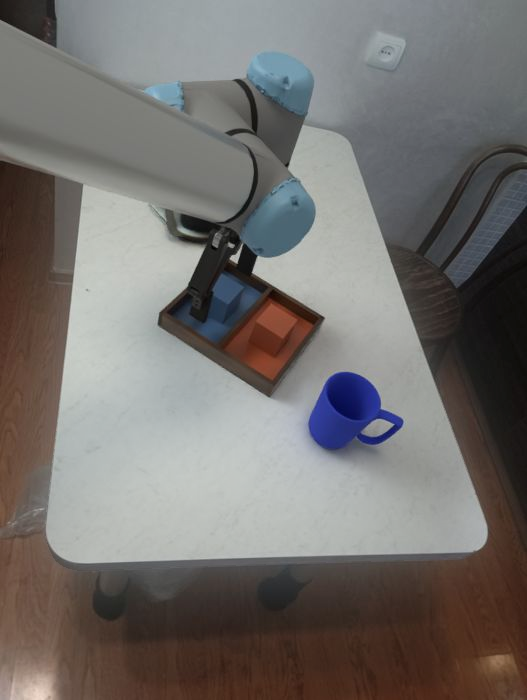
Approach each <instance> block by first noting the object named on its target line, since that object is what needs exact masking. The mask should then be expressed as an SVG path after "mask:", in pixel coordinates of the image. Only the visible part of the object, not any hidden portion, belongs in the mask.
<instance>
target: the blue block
mask: <svg viewBox="0 0 527 700" xmlns="http://www.w3.org/2000/svg"><path fill="white" fill-rule="evenodd" d="M243 290H244V287H243V286H242V285H240V284H238V283H237V282H235V281H233V280H232V279H230V278H228V277H227V276H225V275H223V274H222V273H221V275H220V277H219V279H218V280H217V282H216V284H215V286H214V287H213V289H212V291H213V292H214V294H213V298H212V301H211V305H210V309H209V313H208V316H209V317H211V318H212V319H214V320H215V321H217V322H219V323H220V324H223V323H224V322H225V321H226V320H227V319H228V318H229V317H230V316H231V314H232V313H233V312H234V311H235V310H236V309H237V308H238V305H239V302H240V299H241V296H242V293H243Z"/></svg>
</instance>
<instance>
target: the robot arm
mask: <svg viewBox="0 0 527 700" xmlns="http://www.w3.org/2000/svg"><path fill="white" fill-rule="evenodd" d="M314 87H315V78H314V75H313V73H312V71H311V70H310V68H309V67H308V66H307V65H305V63H304V62H303V61H301V60H300V59H298V58H296V57H293V56H292V55H289V54H287V53H284V52H280V51H273V50H272V51H271V50H269V51H267V50H266V51H262V52H260V53H259V54H256V55H254V56H253V57H252V58H251V60H250V63H249V67H248V68H247V69H246V77H243V78H242V77H241V78H234V79H222V80H196V81H195V80H194V81H181V80H177V81H175V82H170V83H162V84H155V85H150V86H148V87H147V88H145V89H144V91H142V90H140V89H138V88H136V87H134V86H132V85H130V84H128V83H126V82H124V81H122V80H120V79H119V78H116V77H114V76H112V75H111V74H108V73H106V72H105V71H102V70H100V69H99V68H97V67H94V66H93V65H91V64H88V63H87V62H85V61H82V60H81V59H79V58H77V57H75V56H73V55H71V54H68V53H67V52H65V51H63V50H61V49H59V48H56V47H55V46H53V45H51V44H49V43H47V42H45V41H43V40H41V39H39V38H37V37H35V36H34V35H31V34H29V33H27V32H26V31H23V30H21V29H19V28H17V27H16V26H13V25H12V24H9V23H7V22H5V21H3V20H1V19H0V161H2V162H6V163H8V164H9V163H10V164H13V165H17V166H20V167H23V168H27V169H29V170H34V171H36V172H40V173H43V174H46V175H49V176H50V175H51V176H54V177H57V178H61V179H64V180H67V181H71V182H73V183H77V184H81V185H84V186H88V187H91V188H94V189H98V190H101V191H104V192H107V193H112V194H115V195H119V196H121V197H126V198H128V199H132V200H135V201H139V202H141V203H146V204H149V205H151V204H152V205H156V206H159V207H162V208H166V209H169V210H173V211H176V212H179V213H183V214H186V215H190V216H193V217H196V218H200V219H203V220H207V221H210V222H213V223H216V224H218V225H221V228H220V230H219V232H218V231H217V230H215V229H212V230H211V231H210V234H209V237H208V240H207V242H206V244H205V246H204V248H203V250H202V253H201V255H200V257H199V259H198V262H197V264H196V267H195V269H194V271H193V273H192V275H191V277H190V280H189V281H188V283H187V287H185V289H186V292H187V293H189V294H190V295H192V296H193V299H192V303H191V308H190V312H189V315H191V316H192V317H194V318H195V319H197V320H199V321H200V322H202V323H203V324H204V323H205V322H206V321H207V317H208V313H209V309H210V305H211V301H212V298H213V294H214V292H213V291H212V289H213V287H214V286H215V284H216V282H217V280H218V279H219V277H220V275H221V273H222V272H223V270H224V268H225V266H226V264H227V263H228V261H229V259H230V260H231V257H232V256H236V255H237V254H238V253H239V250H240V249H241V250H240V254H239V256H238V259H237V262H236V263H237V266H236V269H237V270H238V271H240V272H242V273H243V274H245V275H247V276H248V277H250V276H251V274H252V273H253V271H254V268H255V265H256V262H257V260H258V257H260V258H264V259H265V258H266V259H271V258H277V257H280V256H283V255H284V254H287V253H288V252H290V251H291V250H293V249H294V248H296V247H297V246H298V245H299V244H300V243H301V242H302V240H303V239H304V238H305V236H307V235H308V234H309V232H310V231H311V229H312V227H313V225H314V223H315V220H316V213H317V210H316V205H315V201H314V199H313V198H312V197H311V195H310V194H309V192H308V191H307V190H306V188H305V187H304V186H303V184H302V182H301V180H300V179H299V178H298V177H296V176H295V175H294V174H293V173H292V172H291V171H290V170H289V167H290V162H291V160H292V157H293V154H294V150H295V148H296V145H297V142H298V139H299V137H300V134H301V131H302V128H303V125H304V122H305V120H306V117H307V116H308V115H309V108H310V103H311V100H312V97H313V96H312V95H313V92H314ZM152 205H151V206H152ZM230 244H231V245H233V247H231V246H230Z"/></svg>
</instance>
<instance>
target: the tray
mask: <svg viewBox="0 0 527 700" xmlns="http://www.w3.org/2000/svg"><path fill="white" fill-rule="evenodd" d="M237 263H238V262H235V261H234V260H232V259H231V258H230V259H229V261H228V263H227V264H226V266H225V268H224V270H223V272H222V274H223V275H225V276H227V277H228V278H230V279H232V280H233V281H235V282H237V283H238V284H240V285H242V286H243V287H244V290H243V293H242V296H241V299H240V302H239V305H238V308H237V309H236V310H235V311H234V312H233V313H232V314H231V316H230V317H229V318H228V319H227V320H226V321H225V322H224V323H223V324H220V323H219V322H217V321H215V320H214V319H212V318H211V317H209V316H208V317H207V321H206V322H205V323H204V324H203V323H202V322H200V321H199V320H197V319H195V318H194V317H192V316H191V315H189V312H190V308H191V303H192V299H193V296H192V295H190V294H189V293H187V292H186V288H184V289H183V290H182V291H181V292H180V293H179V294H178V295H176V296H175V297H174V299H172V300H171V301H170V302H169V303H168V304H167V305H166V306H165V307H164V308H163V309H161V310H160V311H159V312H158V317H157V326H158V327H159V328H161V329H163V330H165V332H168V333H169V334H170V335H173V336H174V337H175V338H177V339H178V340H180V341H182V343H185V344H186V345H187V346H189V347H191V348H193V350H196V351H197V352H198V353H200V354H202V355H203V356H205V357H206V358H207V359H210V360H211V362H214V363H216V364H217V365H218V366H220V367H222V368H223V369H225V370H226V371H228V372H229V373H231V374H233V376H236V377H237V378H239V379H240V380H241V381H243V382H245V383H246V384H248V385H250V386H251V387H252V388H254V389H256V390H257V391H258V392H260V393H262V394H264V395H265V396H266V397H268V398H270V397H271V396H272V394H273V393H274V392H275V391H276V389H277V388H278V387H279V385H280V384H281V383H282V381H283V379H284V378H285V377H286V375H287V374H288V373H289V371H290V370H291V369H292V367H293V366H294V364H295V363H296V362H297V361H298V359H299V358H300V356H301V355H302V353H303V352H304V351H305V349H306V348H307V346H308V345H309V344H310V342H311V341H312V340H313V339H314V337H315V336H316V334H317V333H318V331H319V330H320V329H321V327H322V325H323V323H324V321H325V319H326V317H325V316H324V315H322V314H320V313H319V312H317V311H315V310H313V309H312V308H310V307H309V306H307V305H305V304H304V303H302V302H301V301H299V300H297V299H296V298H294V297H292V296H291V295H289V294H287V293H286V292H284V291H283V290H282V289H279V288H277V287H276V286H274V285H273V284H271V283H270V282H267V281H266V280H265V279H263V278H261V277H260V276H258V275H256V274H255V273H253V272H252V274H251V276H250V277H248V276H247V275H245V274H243V273H242V272H240V271H238V270H237V269H236V266H237ZM271 304H273V305H274V306H276V307H278V308H279V309H281V310H283V311H284V312H286V313H287V314H289V315H291V316H292V317H294V318H295V319H297V320H298V321H297V323H296V325H295V327H294V329H293V331H292V334H291V336H290V338H289V340H288V341H287V342H286V344H285V345H284V346H283V347H282V349H281V350H280V351H279V353H278V354H277V355H276V356H275V358H274V357H273V356H271V355H269V354H268V353H266V352H265V351H263V350H262V349H260V348H258V347H257V346H255V345H254V344H252V343H251V342H249V338H250V336H251V333H252V330H253V328H254V325H255V322H256V321H257V319H258V318H259V317H260V316H261V315H262V314H263V313H264V311H265V310H266V309H267V308H268V307H269V306H270V305H271Z"/></svg>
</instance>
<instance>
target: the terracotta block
mask: <svg viewBox="0 0 527 700" xmlns="http://www.w3.org/2000/svg"><path fill="white" fill-rule="evenodd" d="M297 321H298V320H297V319H295V318H294V317H292V316H291V315H289V314H287V313H286V312H284V311H283V310H281V309H279V308H278V307H276V306H274V305H273V304H271V305H270V306H269V307H268V308H267V309H266V310H265V311H264V313H263V314H262V315H261V316H260V317H259V318H258V319H257V321H256V322H255V325H254V328H253V330H252V333H251V336H250V338H249V342H251V343H252V344H254V345H255V346H257V347H258V348H260V349H262V350H263V351H265V352H266V353H268V354H269V355H271V356H273V357H274V358H275V356H276V355H277V354H278V353H279V351H280V350H281V349H282V347H283V346H284V345H285V344H286V342H287V341H288V340H289V338H290V336H291V334H292V331H293V329H294V327H295V325H296V323H297Z"/></svg>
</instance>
